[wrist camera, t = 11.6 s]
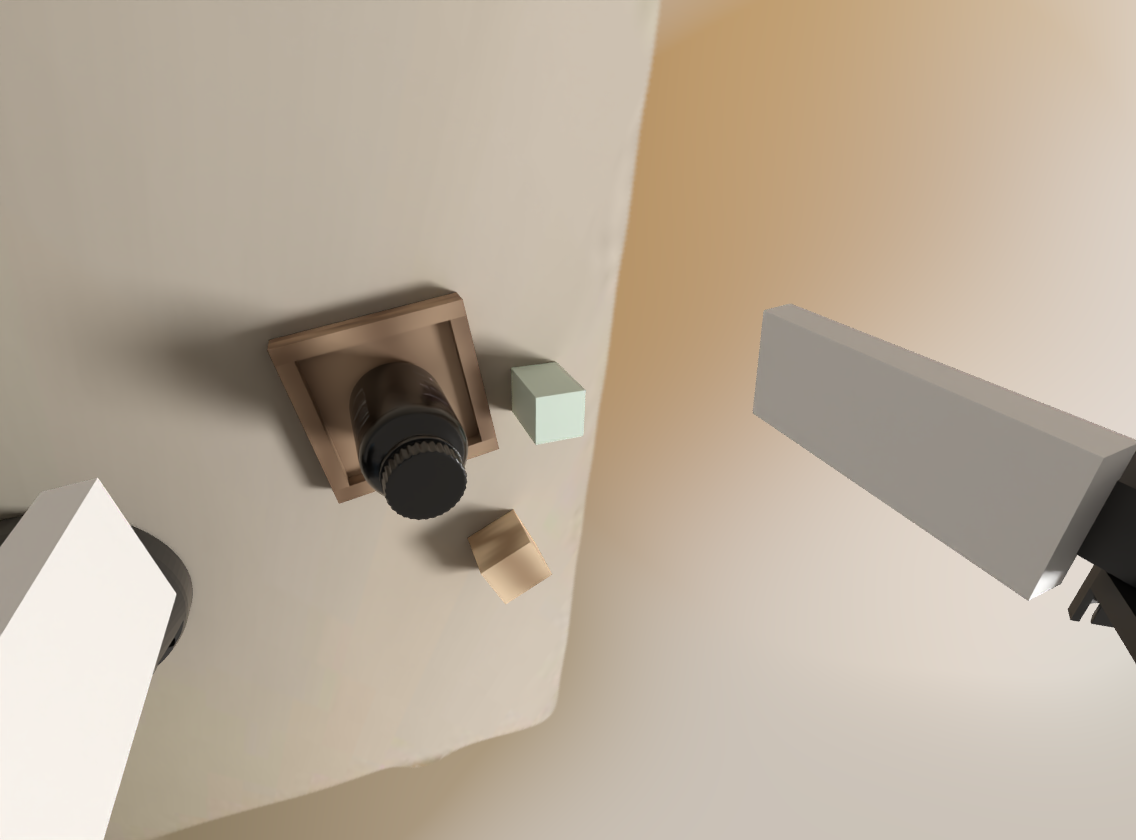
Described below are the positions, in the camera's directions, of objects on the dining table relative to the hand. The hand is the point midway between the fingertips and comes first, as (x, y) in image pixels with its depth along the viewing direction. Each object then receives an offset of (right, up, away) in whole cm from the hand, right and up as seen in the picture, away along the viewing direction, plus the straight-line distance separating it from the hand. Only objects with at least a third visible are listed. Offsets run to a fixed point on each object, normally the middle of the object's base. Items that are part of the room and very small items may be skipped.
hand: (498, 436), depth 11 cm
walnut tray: (-12, +2, +30) cm, 33 cm away
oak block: (-5, -11, +41) cm, 43 cm away
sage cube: (-1, +3, +35) cm, 35 cm away
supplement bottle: (-12, +2, +30) cm, 32 cm away
